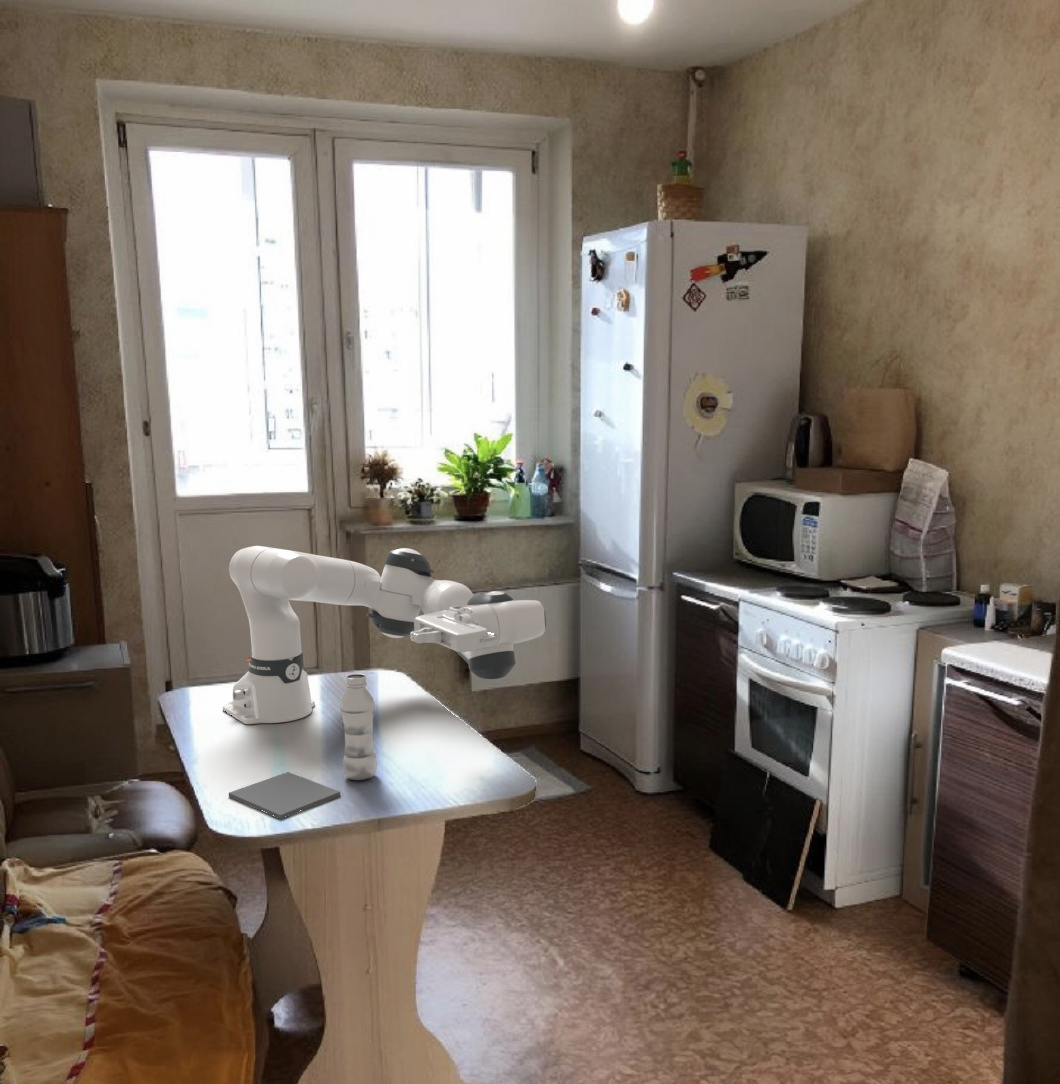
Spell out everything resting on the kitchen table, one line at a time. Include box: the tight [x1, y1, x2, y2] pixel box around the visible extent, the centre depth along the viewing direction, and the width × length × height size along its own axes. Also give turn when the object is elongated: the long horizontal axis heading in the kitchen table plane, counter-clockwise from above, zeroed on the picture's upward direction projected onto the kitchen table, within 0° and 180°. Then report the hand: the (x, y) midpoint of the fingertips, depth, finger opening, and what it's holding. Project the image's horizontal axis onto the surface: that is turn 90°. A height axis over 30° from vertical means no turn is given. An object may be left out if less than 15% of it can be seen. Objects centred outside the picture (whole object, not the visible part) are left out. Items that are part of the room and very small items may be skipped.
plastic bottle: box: [339, 673, 378, 781], centre depth 186 cm, size 6×7×20 cm
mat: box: [228, 771, 342, 820], centre depth 179 cm, size 16×13×1 cm
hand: (413, 637), depth 190 cm, fingers closed
